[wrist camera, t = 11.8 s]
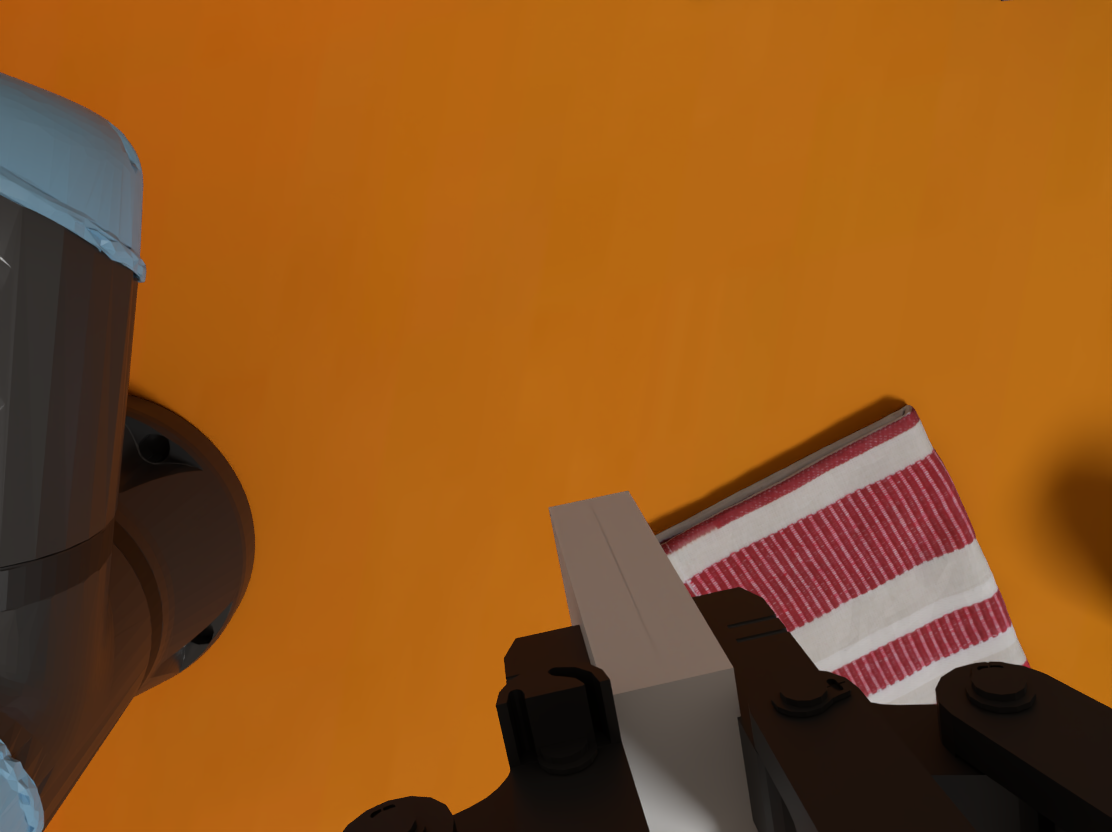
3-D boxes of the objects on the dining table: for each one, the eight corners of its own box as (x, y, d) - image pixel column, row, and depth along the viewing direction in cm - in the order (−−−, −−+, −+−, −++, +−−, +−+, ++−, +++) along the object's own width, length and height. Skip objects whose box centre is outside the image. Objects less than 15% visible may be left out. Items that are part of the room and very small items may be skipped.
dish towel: (800, 867, 54) (816, 900, 51) (626, 545, 48) (634, 564, 46) (1054, 737, 54) (1083, 764, 51) (908, 397, 48) (933, 408, 45)
